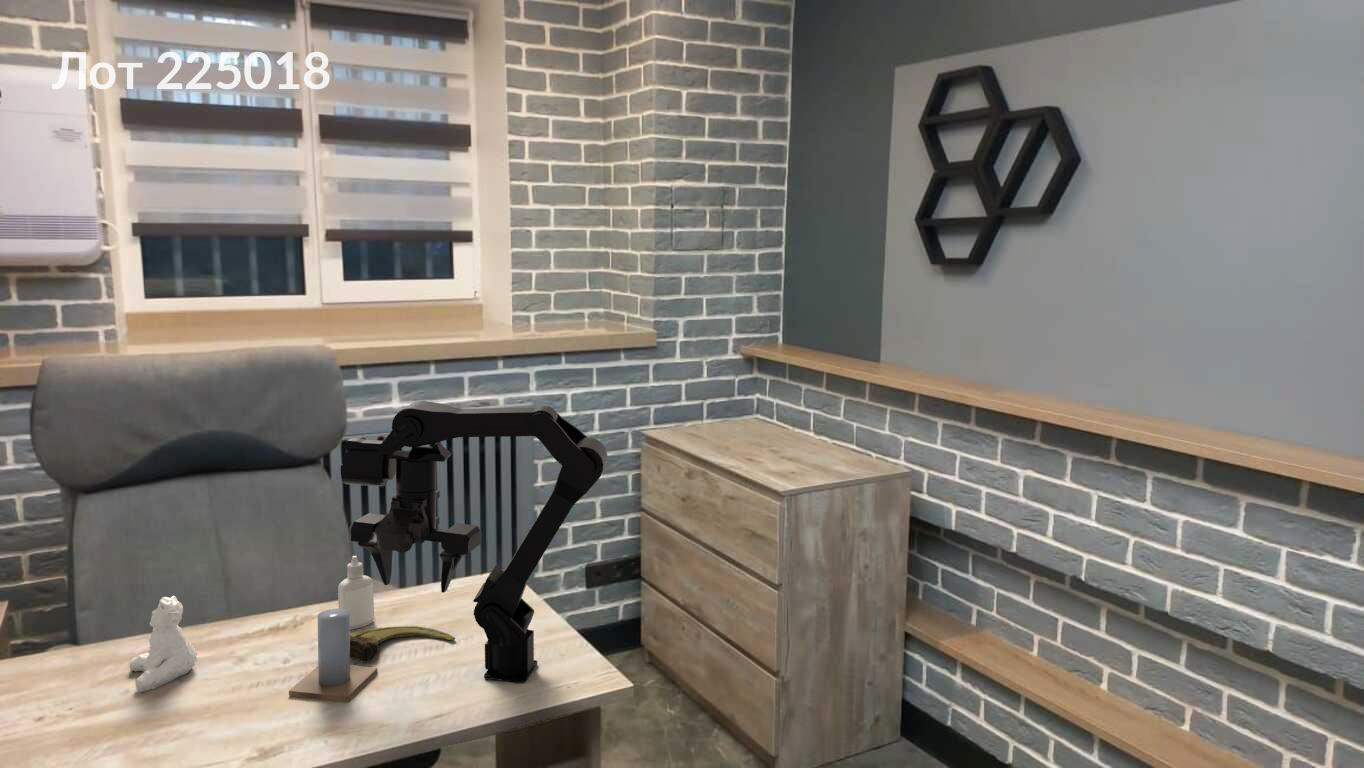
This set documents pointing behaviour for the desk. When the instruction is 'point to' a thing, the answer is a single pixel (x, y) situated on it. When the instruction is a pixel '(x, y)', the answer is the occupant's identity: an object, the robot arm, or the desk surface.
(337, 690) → the coaster
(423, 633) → the claw
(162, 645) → the white creature statuette
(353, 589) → the eye dropper bottle
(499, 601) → the robot arm
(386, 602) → the desk surface
